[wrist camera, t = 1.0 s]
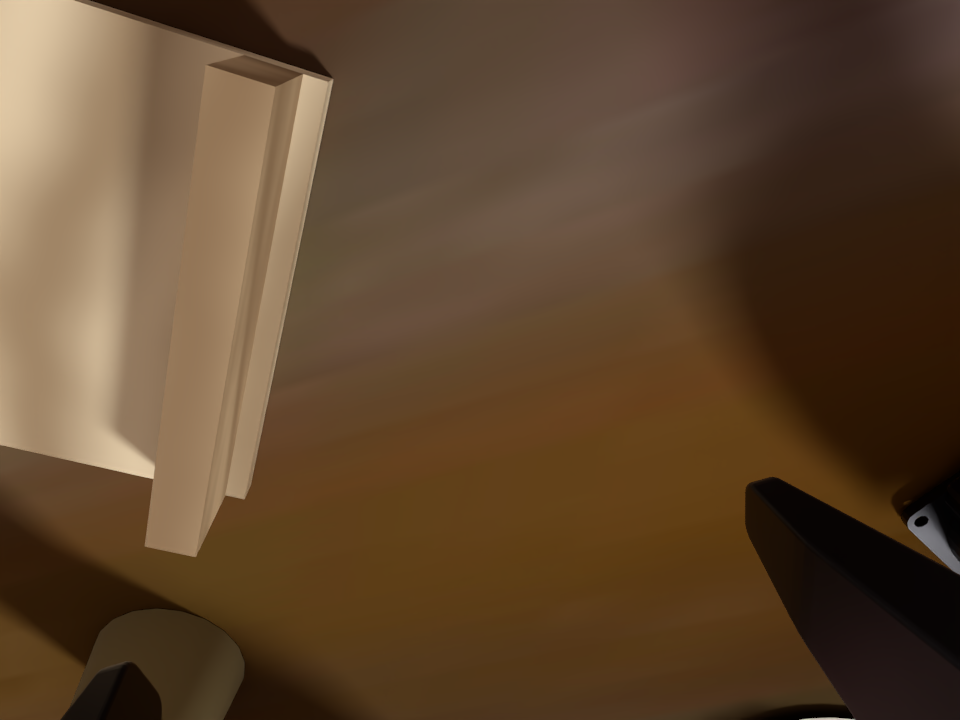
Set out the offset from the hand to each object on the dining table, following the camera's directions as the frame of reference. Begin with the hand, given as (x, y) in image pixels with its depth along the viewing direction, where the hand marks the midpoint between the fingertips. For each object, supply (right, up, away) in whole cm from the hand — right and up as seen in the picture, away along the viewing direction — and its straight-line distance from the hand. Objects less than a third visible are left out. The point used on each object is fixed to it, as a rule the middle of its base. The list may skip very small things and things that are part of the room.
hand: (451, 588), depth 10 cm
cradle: (-11, +6, +11) cm, 17 cm away
